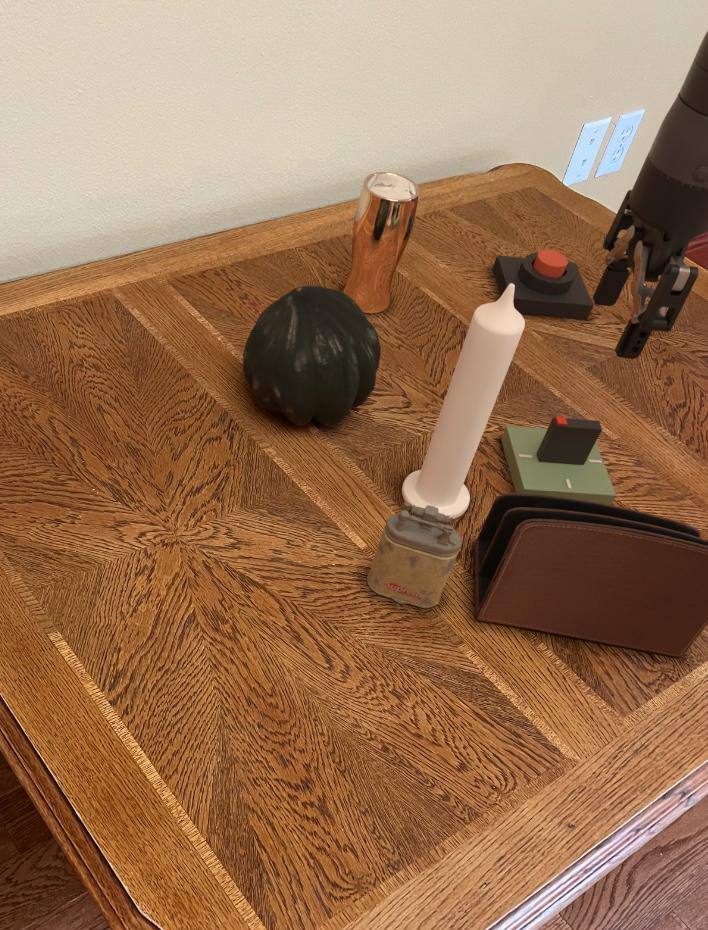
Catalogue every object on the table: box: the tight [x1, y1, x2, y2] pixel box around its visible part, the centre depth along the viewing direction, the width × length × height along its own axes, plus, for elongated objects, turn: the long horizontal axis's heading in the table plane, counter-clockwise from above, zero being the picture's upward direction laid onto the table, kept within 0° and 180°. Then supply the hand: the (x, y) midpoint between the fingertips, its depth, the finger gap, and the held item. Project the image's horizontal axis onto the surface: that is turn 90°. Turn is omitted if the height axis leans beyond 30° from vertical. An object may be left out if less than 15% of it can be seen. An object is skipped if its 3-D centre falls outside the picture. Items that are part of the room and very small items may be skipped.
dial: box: [537, 415, 603, 465], centre depth 99 cm, size 5×1×5 cm, turn 91°
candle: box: [401, 283, 526, 520], centre depth 88 cm, size 7×7×25 cm
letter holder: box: [473, 492, 708, 659], centre depth 85 cm, size 10×20×14 cm, turn 82°
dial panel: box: [500, 425, 617, 505], centre depth 102 cm, size 10×10×2 cm
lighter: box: [366, 501, 463, 609], centre depth 85 cm, size 7×4×10 cm, turn 73°
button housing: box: [491, 252, 594, 321], centre depth 124 cm, size 11×10×4 cm
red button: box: [533, 249, 569, 278], centre depth 122 cm, size 4×4×2 cm
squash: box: [242, 285, 382, 426], centre depth 101 cm, size 14×15×15 cm
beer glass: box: [342, 171, 421, 314], centre depth 114 cm, size 7×7×15 cm
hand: (613, 328), depth 90 cm, fingers open, 8 cm apart
